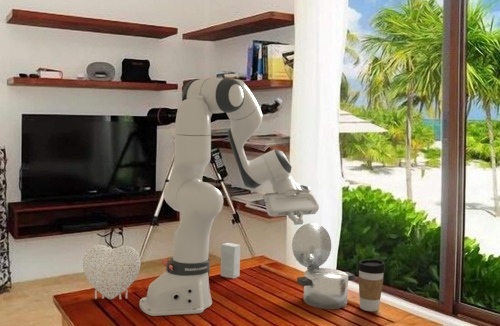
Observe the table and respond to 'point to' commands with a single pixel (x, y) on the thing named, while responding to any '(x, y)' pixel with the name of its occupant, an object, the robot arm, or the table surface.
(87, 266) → the decorative heart
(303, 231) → the lid
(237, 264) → the skincare box
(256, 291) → the table surface
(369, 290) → the coffee cup
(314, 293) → the cooker pot
